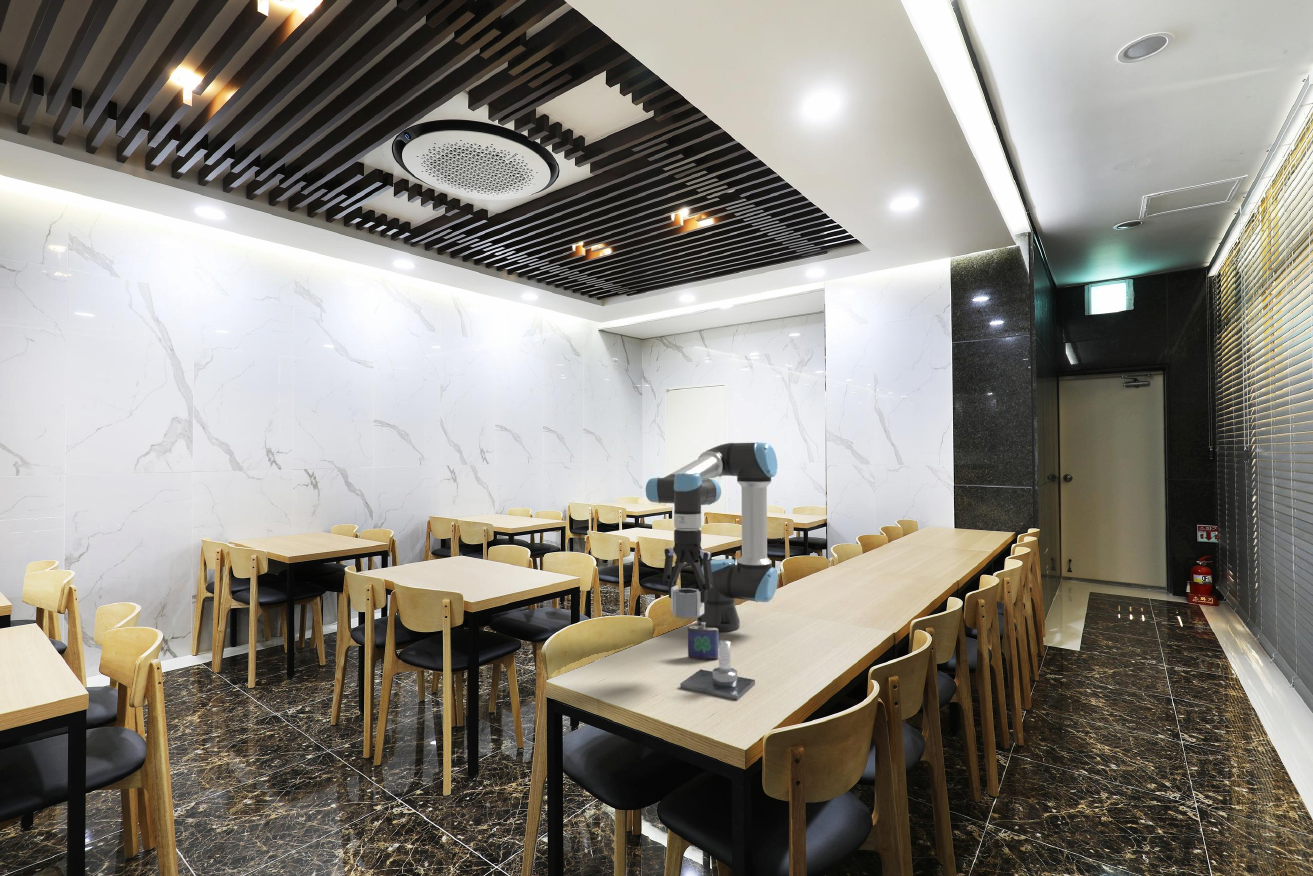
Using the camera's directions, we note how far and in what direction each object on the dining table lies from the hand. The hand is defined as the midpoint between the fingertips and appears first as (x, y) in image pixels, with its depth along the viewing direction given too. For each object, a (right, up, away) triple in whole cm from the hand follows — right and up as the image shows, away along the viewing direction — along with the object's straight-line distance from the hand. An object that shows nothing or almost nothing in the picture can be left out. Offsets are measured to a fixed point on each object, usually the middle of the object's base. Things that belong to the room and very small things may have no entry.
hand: (687, 612), depth 169 cm
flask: (+5, -18, +14) cm, 24 cm away
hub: (0, -1, 0) cm, 1 cm away
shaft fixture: (+8, -17, -8) cm, 20 cm away
